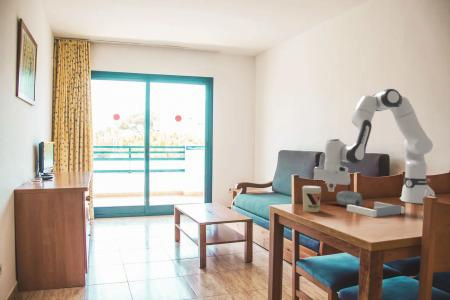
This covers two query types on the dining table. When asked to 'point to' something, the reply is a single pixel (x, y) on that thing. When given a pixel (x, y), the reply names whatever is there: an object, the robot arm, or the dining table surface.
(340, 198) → the grey-green rounded block
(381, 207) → the notched board
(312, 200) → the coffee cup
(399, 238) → the dining table surface
